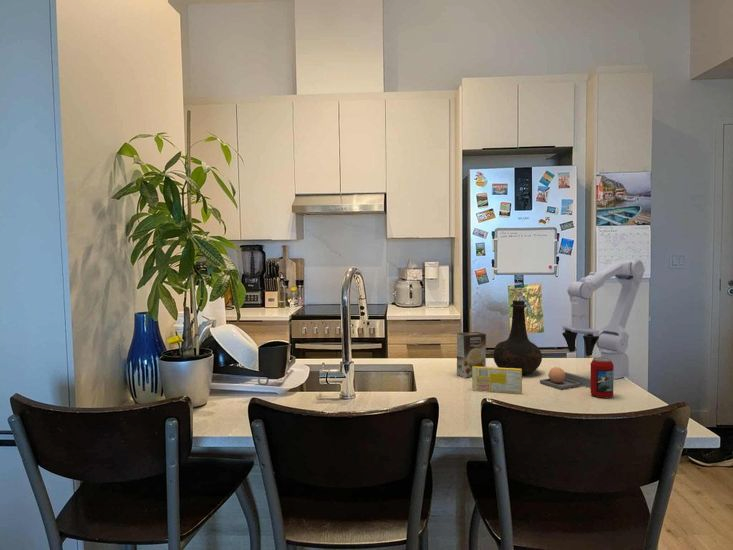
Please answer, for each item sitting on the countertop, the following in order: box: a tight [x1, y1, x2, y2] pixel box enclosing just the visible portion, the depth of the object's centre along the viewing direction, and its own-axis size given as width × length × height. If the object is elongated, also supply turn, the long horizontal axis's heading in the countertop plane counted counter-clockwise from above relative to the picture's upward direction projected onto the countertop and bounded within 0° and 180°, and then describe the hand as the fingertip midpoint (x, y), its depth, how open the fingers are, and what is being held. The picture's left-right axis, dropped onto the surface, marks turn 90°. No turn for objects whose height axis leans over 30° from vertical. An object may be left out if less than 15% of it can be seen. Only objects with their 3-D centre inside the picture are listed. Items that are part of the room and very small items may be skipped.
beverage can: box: [589, 356, 615, 399], centre depth 167 cm, size 7×7×12 cm
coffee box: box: [456, 331, 487, 379], centre depth 196 cm, size 9×6×16 cm
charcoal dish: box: [539, 377, 582, 391], centre depth 181 cm, size 9×10×1 cm
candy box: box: [471, 366, 523, 395], centre depth 174 cm, size 16×2×8 cm, turn 71°
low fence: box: [564, 371, 590, 389], centre depth 184 cm, size 1×16×3 cm, turn 26°
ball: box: [548, 366, 566, 383], centre depth 182 cm, size 6×6×6 cm
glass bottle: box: [492, 299, 543, 376], centre depth 199 cm, size 18×18×28 cm
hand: (580, 353), depth 185 cm, fingers open, 7 cm apart
